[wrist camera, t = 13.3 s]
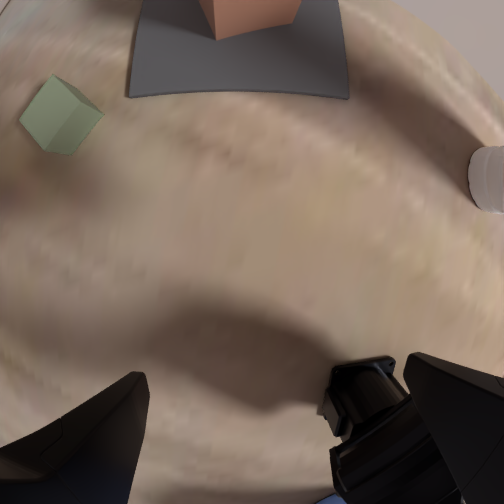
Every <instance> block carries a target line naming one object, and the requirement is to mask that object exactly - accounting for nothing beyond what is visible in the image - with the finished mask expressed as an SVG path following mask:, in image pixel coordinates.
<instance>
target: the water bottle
mask: <svg viewBox="0 0 504 504" xmlns="http://www.w3.org/2000/svg"><path fill="white" fill-rule="evenodd" d="M468 180H469V182H470V184H469V188H470V192H471V195H472V198H473V199H474V201H475V202H476V204H477V206H478V207H479V208H480V209H482V210H483V211H486V212H490V213H496V214H504V146H500V147H498V146H491V147H481V148H479V149H478V150H476V151H475V152H474V153H473V155H472V157H471V159H470V165H469V168H468Z"/></svg>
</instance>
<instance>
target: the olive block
mask: <svg viewBox="0 0 504 504" xmlns="http://www.w3.org/2000/svg"><path fill="white" fill-rule="evenodd" d="M103 116H104V114H103V113H102V112H101V111H100V110H99V109H98V108H97V107H96V106H95V105H94V104H93V103H91V102H90V101H89V100H88V99H87V98H86V97H85V96H84V95H83V94H82V93H81V92H80V91H79V90H78V89H77V88H75V87H74V86H72V85H70V84H69V83H67V82H65V81H64V80H62V79H60V78H59V77H57V76H55V75H54V74H52V76H51V77H50V78H49V79H48V80H47V82H46V83H45V84H44V86H43V87H42V88H41V89H40V91H39V92H38V93H37V95H36V96H35V97H34V99H33V100H32V102H31V103H30V104H29V106H28V107H27V109H26V110H25V112H24V113H23V115H22V116H21V118H20V119H19V121H20V122H21V123H22V124H23V126H24V127H25V128H26V129H27V131H28V132H29V133H30V134H31V136H32V137H33V138H34V139H35V140H36V142H37V143H38V144H39V145H40V147H41V148H42V149H43V150H44V151H47V152H53V153H60V154H66V155H72V154H73V153H74V152H75V150H76V149H77V148H78V146H79V145H80V144H81V142H82V141H83V140H84V139H85V137H86V136H87V135H88V134H89V132H90V131H91V130H92V129H93V127H94V126H95V125H96V124H97V123H98V121H99V120H100V119H101V118H102V117H103Z"/></svg>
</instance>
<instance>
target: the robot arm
mask: <svg viewBox="0 0 504 504" xmlns="http://www.w3.org/2000/svg"><path fill="white" fill-rule="evenodd" d="M390 362H391V363H390ZM389 363H390V364H389ZM395 364H396V361H395V359H394V358H392V357H390V358H385V359H379V360H373V361H367V362H361V363H354V364H347V365H340V366H335V367H333V368H332V370H331V375H330V381H329V386H328V387H327V389H326V390H325V396H324V402H323V407H322V409H323V411H324V413H323V417H324V419H325V420H327V421H328V423H329V426H330V428H331V430H332V433H333V435H334V436H335V437H340V438H341V440H342V442H343V443H341V444H339V445H338V446H334V447H333V448H331V449H329V452H330V463H331V470H332V478H333V485H334V488H335V490H336V491H335V493H336V495H337V497H339V498H342V499H343V500H344V501H345V502H346V503H347V504H465V503H466V504H504V378H501V377H498V376H494V375H491V374H488V373H484V372H481V371H478V370H474V369H471V368H468V367H465V366H461V365H458V364H455V363H452V362H449V361H446V360H443V359H439V358H436V357H433V356H430V355H427V354H424V353H421V352H415V353H411V354H409V356H408V358H407V361H406V365H405V368H404V372H403V377H404V380H405V383H406V385H407V387H408V389H409V392H410V394H408V393H407V392H406V391H405V389H404V388H403V387H402V386H401V385H400V383H399V382H398V381H397V380H396V378H395V377H394V376H393V371H394V367H395ZM336 371H338V372H337V373H335V372H336ZM149 400H150V392H149V388H148V383H147V379H146V375H145V373H143V372H136V371H132V372H130V373H129V374H127V375H126V376H124V377H123V378H121V379H120V380H118V381H117V382H115V383H114V384H112V385H110V386H109V387H107V388H106V389H104V390H103V391H101V392H100V393H98V394H97V395H95V396H93V397H92V398H90V399H89V400H87V401H86V402H84V403H82V404H81V405H79V406H78V407H76V408H74V409H73V410H71V411H70V412H68V413H66V414H65V415H63V416H62V417H61V419H60V418H58V419H57V420H55V421H53V422H52V423H50V424H48V425H47V426H45V427H43V428H41V429H40V430H38V431H36V432H34V433H32V434H29V435H27V436H25V437H23V438H21V439H19V440H16V441H14V442H12V443H10V444H7V445H5V446H3V447H1V448H0V504H127V503H128V499H129V494H130V490H131V486H132V482H133V478H134V474H135V470H136V466H137V462H138V458H139V454H140V450H141V447H142V443H143V439H144V434H145V428H146V420H147V413H148V406H149ZM464 501H465V502H464Z"/></svg>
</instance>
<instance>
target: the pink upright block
mask: <svg viewBox="0 0 504 504" xmlns="http://www.w3.org/2000/svg"><path fill="white" fill-rule="evenodd" d="M301 1H302V0H199V3H200V5H201V7H202V9H203V11H204V14H205V16H206V18H207V20H208V23H209V25H210V27H211V29H212V32H213V34H214V36H215V39H216V41H217V40H220V39H224V38H227V37H231V36H235V35H238V34H242V33H246V32H251V31H255V30H260V29H264V28H269V27H274V26H280V25H285V24H291V23H292V22H293V20H294V18H295V15H296V13H297V11H298V8H299V6H300V4H301Z"/></svg>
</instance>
